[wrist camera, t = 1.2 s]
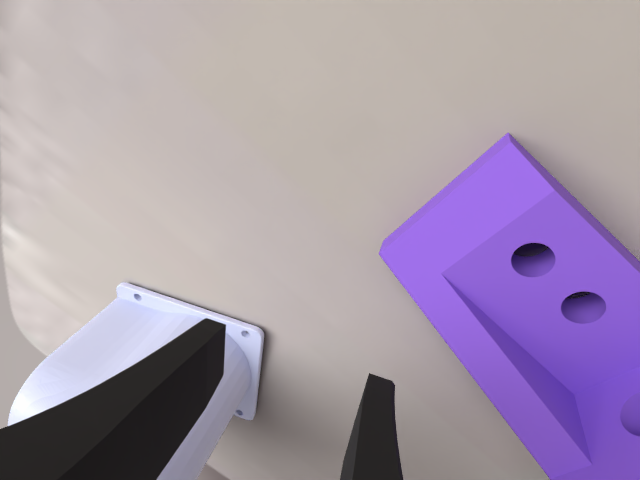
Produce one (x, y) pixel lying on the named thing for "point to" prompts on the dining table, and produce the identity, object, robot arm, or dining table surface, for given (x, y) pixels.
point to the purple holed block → (533, 310)
